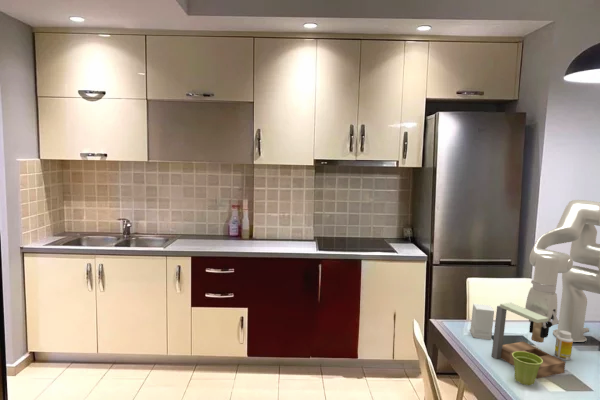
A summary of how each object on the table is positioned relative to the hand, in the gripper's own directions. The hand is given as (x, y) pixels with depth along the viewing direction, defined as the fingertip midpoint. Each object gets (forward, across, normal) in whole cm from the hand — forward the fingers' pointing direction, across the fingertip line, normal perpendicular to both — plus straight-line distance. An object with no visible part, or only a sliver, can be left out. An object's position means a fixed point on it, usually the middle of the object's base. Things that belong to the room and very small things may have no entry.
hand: (538, 334), depth 169 cm
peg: (+2, 0, 0) cm, 2 cm away
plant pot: (+11, +9, -16) cm, 22 cm away
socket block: (+11, 0, -3) cm, 12 cm away
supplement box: (+11, -26, -1) cm, 28 cm away
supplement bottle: (+11, 0, +15) cm, 19 cm away
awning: (+11, -1, -9) cm, 15 cm away
